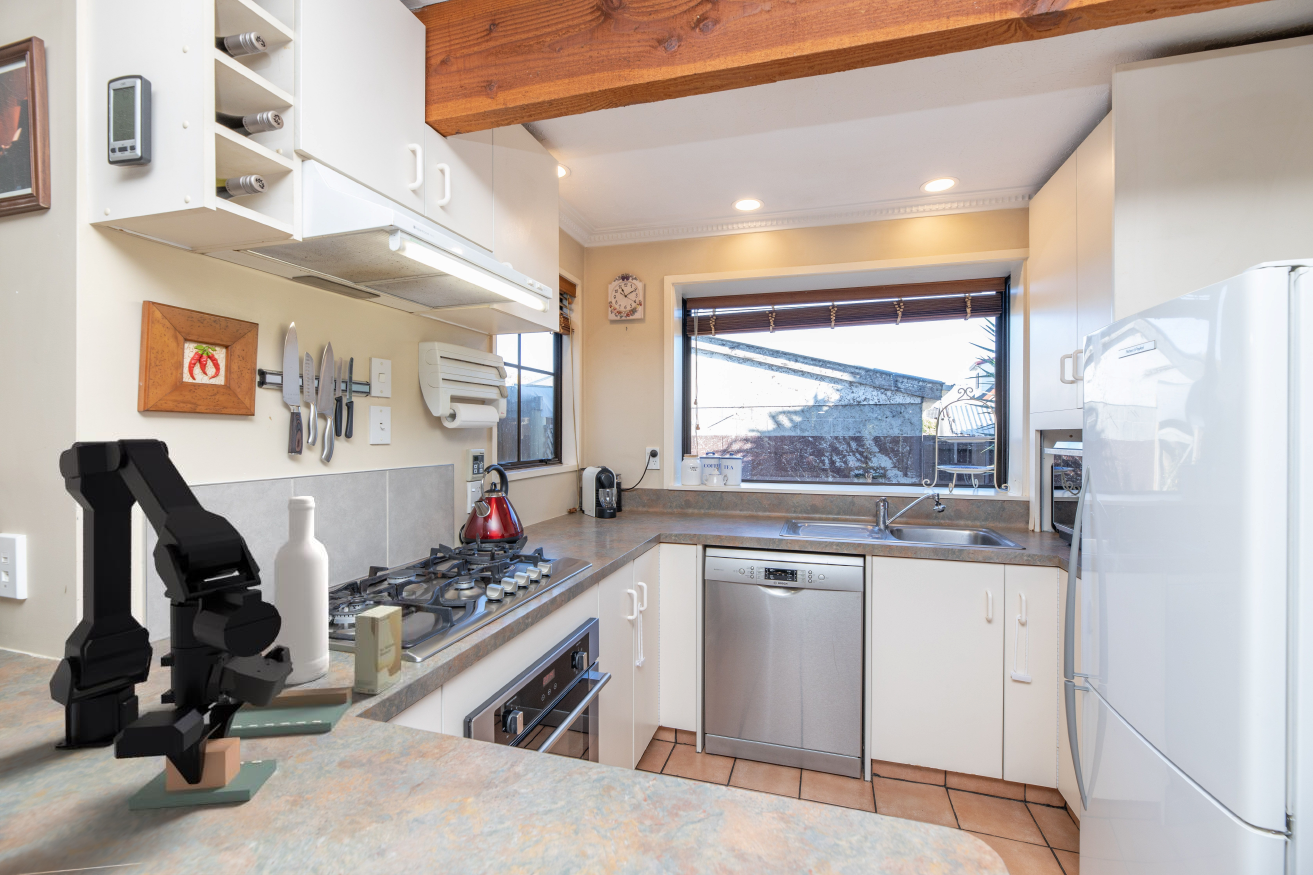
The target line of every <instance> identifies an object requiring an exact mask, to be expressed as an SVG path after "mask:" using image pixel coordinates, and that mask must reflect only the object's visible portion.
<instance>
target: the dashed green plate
mask: <svg viewBox="0 0 1313 875" xmlns="http://www.w3.org/2000/svg"><path fill="white" fill-rule="evenodd" d="M352 692H353V687H352V686H343V687H342V686H341V687H327V688H326V687H325V688H309V689H293V690H292V689H289V690H282V692H281V693H280V694H279V695H277V696H276V697H275V698H274V699H273V700H272V701H271V703H270V704H268V705H267V706H264V707H256V706H252V705H251V704H250V703H248V702H246V703H245V704H244V705H243V706H242V707H241V708H240V709H239V710H238V711H237V712H236V714H235V716H234V719H233V722H232V724H231V727H230V730H229V733H228V737H227V738H237V737H240V738H245V737H260V736H261V737H262V736H274V735H275V736H277V735H289V734H303V733H320V732H331V731H333V729H334V728H335V727H336V725H337V724H339V721H340V720H341V719H342V718H343V716H344V715H345V713H346V712H348V709H349V708H350V707H351V706H352V705H353V694H352Z"/></svg>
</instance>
